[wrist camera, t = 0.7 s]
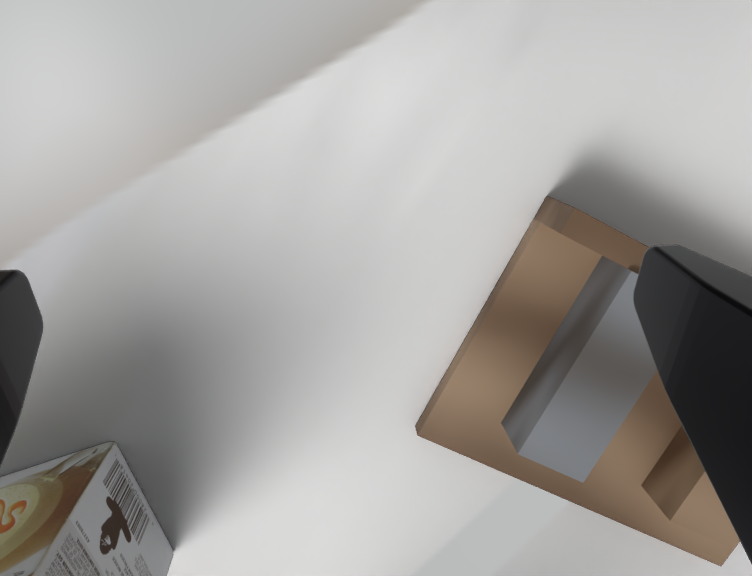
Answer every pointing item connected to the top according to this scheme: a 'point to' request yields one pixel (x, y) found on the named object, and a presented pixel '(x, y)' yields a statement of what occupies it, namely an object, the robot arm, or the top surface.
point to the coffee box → (79, 519)
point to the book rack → (577, 389)
